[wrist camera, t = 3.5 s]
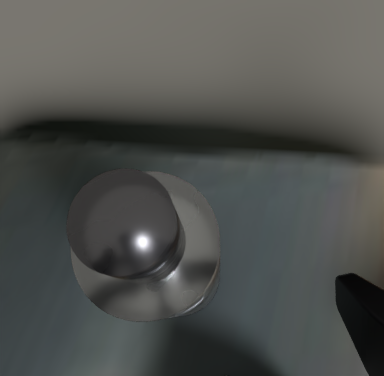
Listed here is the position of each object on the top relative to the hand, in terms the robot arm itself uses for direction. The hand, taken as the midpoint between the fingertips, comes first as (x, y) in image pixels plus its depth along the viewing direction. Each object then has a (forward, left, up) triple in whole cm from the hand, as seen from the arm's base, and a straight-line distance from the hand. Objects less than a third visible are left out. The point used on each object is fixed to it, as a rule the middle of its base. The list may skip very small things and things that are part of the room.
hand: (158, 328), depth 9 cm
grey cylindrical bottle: (+1, +2, -10) cm, 10 cm away
